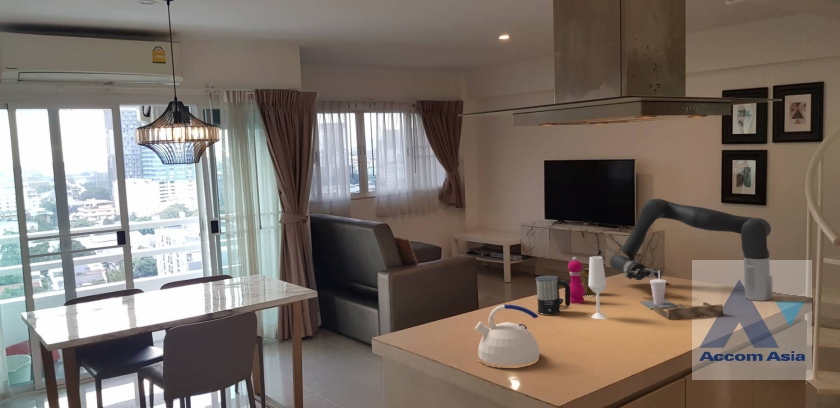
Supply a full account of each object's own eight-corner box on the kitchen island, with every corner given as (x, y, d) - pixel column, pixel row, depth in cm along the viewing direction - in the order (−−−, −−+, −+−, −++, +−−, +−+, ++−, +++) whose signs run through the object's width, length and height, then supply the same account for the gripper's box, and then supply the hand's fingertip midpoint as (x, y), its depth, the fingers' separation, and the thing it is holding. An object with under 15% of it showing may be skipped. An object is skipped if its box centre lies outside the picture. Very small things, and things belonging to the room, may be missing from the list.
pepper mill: (587, 300, 262) (585, 255, 261) (582, 304, 256) (580, 258, 255) (571, 299, 266) (569, 255, 265) (566, 303, 260) (563, 258, 259)
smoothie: (669, 305, 244) (668, 271, 243) (653, 306, 244) (652, 272, 243) (663, 301, 250) (662, 268, 249) (648, 302, 250) (647, 269, 249)
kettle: (477, 349, 206) (473, 298, 205) (537, 347, 204) (534, 295, 203) (476, 370, 186) (473, 314, 185) (543, 368, 184) (540, 311, 183)
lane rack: (705, 307, 240) (705, 297, 239) (723, 315, 227) (722, 305, 226) (654, 311, 239) (653, 301, 239) (668, 319, 226) (668, 309, 226)
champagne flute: (597, 320, 231) (594, 259, 229) (586, 316, 237) (583, 257, 235) (611, 317, 234) (608, 257, 232) (599, 314, 240) (597, 255, 238)
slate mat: (666, 301, 253) (666, 299, 253) (678, 307, 242) (678, 306, 242) (640, 303, 252) (640, 301, 252) (651, 309, 242) (651, 308, 241)
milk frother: (542, 316, 242) (540, 280, 241) (527, 307, 257) (526, 274, 256) (575, 312, 245) (573, 277, 243) (558, 304, 260) (557, 270, 259)
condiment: (600, 293, 274) (599, 267, 273) (590, 297, 268) (589, 271, 267) (586, 291, 279) (584, 266, 278) (576, 295, 273) (575, 269, 272)
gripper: (619, 262, 269) (633, 269, 253) (650, 260, 270) (666, 267, 254) (619, 279, 270) (634, 286, 254) (650, 277, 270) (666, 284, 254)
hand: (650, 277), depth 254 cm, fingers open, 8 cm apart
